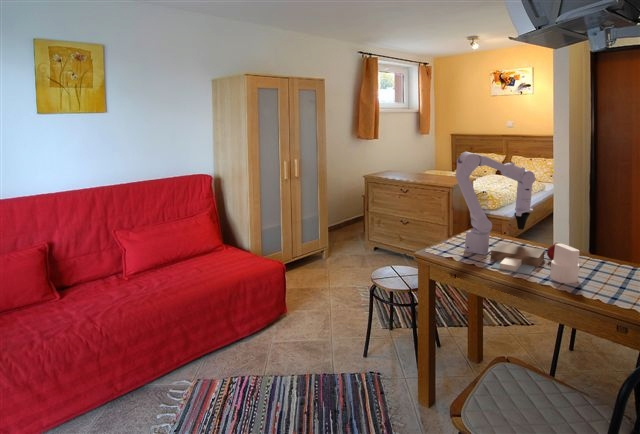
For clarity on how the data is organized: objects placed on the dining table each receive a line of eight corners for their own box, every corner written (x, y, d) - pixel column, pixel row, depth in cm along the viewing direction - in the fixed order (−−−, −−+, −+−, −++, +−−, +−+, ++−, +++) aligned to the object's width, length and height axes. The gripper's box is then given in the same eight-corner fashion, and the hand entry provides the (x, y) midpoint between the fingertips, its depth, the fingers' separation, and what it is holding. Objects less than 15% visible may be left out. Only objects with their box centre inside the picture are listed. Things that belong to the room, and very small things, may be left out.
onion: (561, 264, 175) (563, 245, 174) (545, 262, 178) (547, 243, 177) (562, 260, 180) (564, 241, 178) (547, 258, 183) (548, 239, 181)
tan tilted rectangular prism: (499, 268, 173) (499, 263, 172) (505, 261, 180) (505, 257, 179) (515, 271, 169) (516, 266, 169) (521, 264, 176) (521, 259, 176)
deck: (490, 259, 184) (491, 250, 183) (498, 251, 193) (499, 243, 192) (537, 267, 173) (538, 257, 172) (543, 259, 182) (544, 249, 182)
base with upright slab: (583, 281, 158) (587, 249, 156) (561, 284, 157) (565, 252, 154) (565, 273, 167) (568, 242, 164) (544, 275, 165) (547, 244, 162)
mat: (491, 267, 174) (491, 267, 174) (498, 260, 182) (498, 260, 182) (529, 274, 166) (529, 274, 166) (535, 267, 174) (535, 266, 174)
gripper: (530, 202, 180) (527, 234, 183) (537, 196, 191) (534, 226, 195) (511, 200, 184) (509, 231, 187) (520, 194, 195) (517, 224, 199)
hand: (520, 229), depth 191 cm, fingers closed
